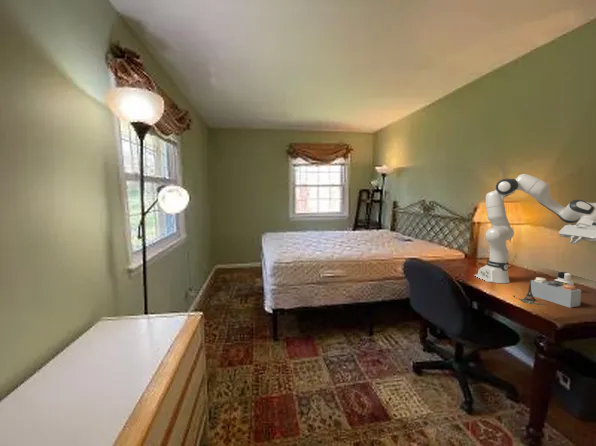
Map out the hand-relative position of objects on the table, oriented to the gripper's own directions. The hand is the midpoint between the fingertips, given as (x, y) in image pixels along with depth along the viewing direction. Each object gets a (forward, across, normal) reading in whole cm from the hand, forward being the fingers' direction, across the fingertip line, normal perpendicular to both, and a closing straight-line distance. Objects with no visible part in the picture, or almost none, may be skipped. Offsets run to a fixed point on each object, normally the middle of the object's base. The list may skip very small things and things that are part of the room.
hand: (573, 243), depth 180 cm
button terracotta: (+31, +9, +10) cm, 34 cm away
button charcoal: (+31, +1, +10) cm, 33 cm away
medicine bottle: (+18, -7, +28) cm, 34 cm away
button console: (+34, +2, +12) cm, 36 cm away
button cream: (+31, -6, +10) cm, 34 cm away
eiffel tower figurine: (+43, -3, +4) cm, 44 cm away
